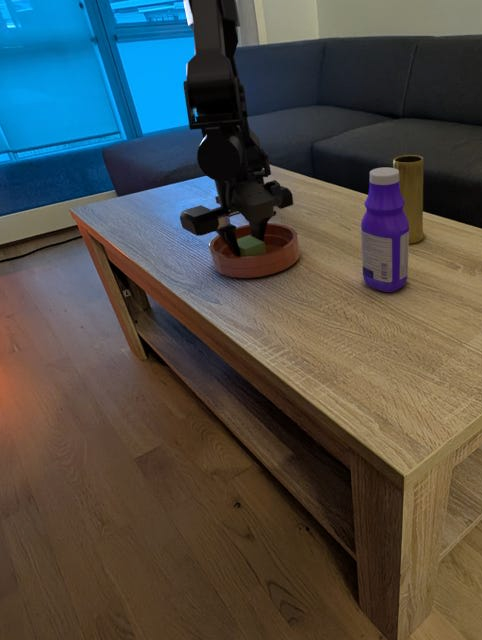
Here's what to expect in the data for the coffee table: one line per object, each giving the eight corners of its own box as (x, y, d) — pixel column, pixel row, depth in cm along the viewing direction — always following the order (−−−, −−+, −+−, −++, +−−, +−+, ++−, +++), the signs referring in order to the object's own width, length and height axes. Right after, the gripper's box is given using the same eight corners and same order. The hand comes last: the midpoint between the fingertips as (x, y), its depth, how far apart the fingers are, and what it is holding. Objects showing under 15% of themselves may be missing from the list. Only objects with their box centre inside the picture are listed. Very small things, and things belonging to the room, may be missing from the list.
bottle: (414, 284, 71) (417, 169, 60) (392, 298, 68) (391, 180, 57) (379, 271, 75) (377, 162, 64) (356, 284, 72) (350, 172, 61)
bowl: (199, 262, 83) (193, 241, 80) (269, 236, 90) (266, 217, 88) (242, 289, 73) (237, 267, 71) (317, 258, 81) (314, 237, 78)
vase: (423, 231, 88) (425, 153, 79) (423, 244, 83) (427, 162, 74) (391, 231, 88) (391, 154, 80) (390, 244, 84) (390, 164, 75)
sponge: (234, 260, 81) (229, 241, 79) (253, 253, 83) (249, 234, 81) (248, 268, 78) (244, 249, 76) (267, 260, 80) (264, 242, 78)
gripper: (198, 187, 61) (225, 289, 70) (306, 158, 70) (317, 251, 80) (165, 174, 68) (193, 268, 77) (267, 148, 77) (282, 235, 87)
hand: (249, 255), depth 80 cm, fingers closed on sponge, 4 cm apart
